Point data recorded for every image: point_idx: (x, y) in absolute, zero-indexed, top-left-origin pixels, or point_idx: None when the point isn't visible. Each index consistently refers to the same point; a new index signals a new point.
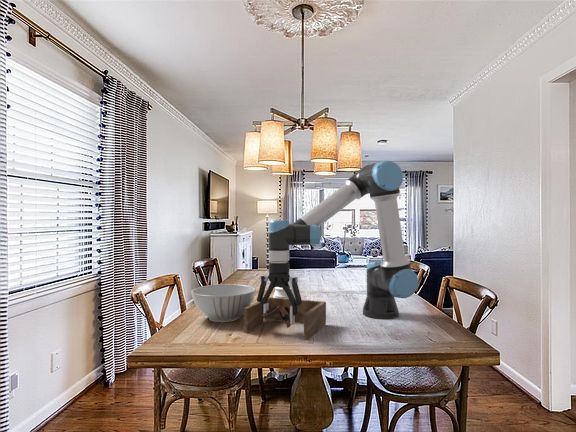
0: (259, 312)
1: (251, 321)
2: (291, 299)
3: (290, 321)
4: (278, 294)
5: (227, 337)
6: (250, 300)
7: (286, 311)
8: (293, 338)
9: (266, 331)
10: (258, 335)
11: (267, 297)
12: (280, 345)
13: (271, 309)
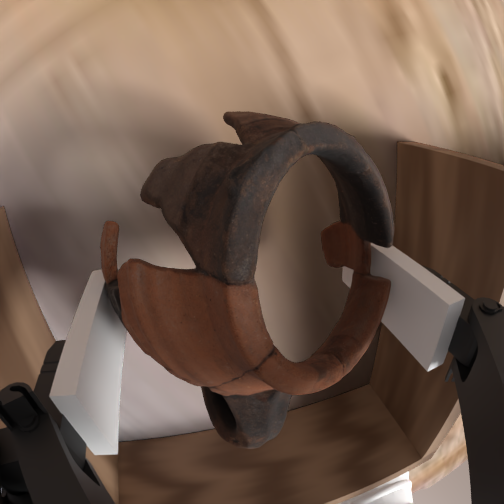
0: None
1: (433, 211)
2: (44, 495)
3: (100, 283)
4: (392, 495)
5: (436, 38)
6: None
7: (150, 350)
8: (67, 193)
9: (314, 226)
10: None
11: (484, 386)
12: (71, 21)
13: (360, 325)
